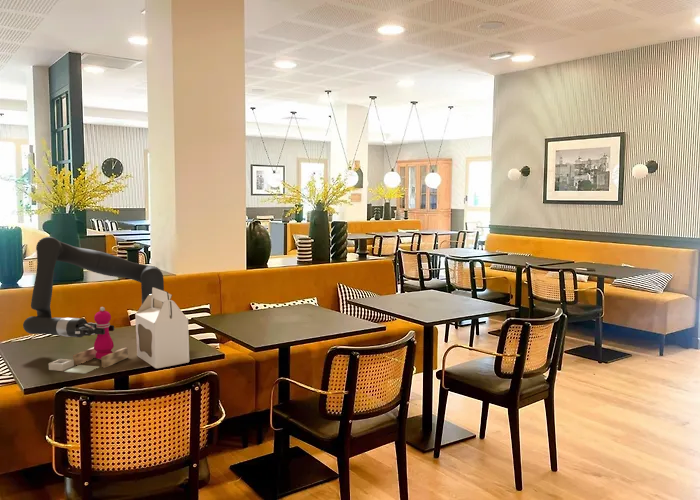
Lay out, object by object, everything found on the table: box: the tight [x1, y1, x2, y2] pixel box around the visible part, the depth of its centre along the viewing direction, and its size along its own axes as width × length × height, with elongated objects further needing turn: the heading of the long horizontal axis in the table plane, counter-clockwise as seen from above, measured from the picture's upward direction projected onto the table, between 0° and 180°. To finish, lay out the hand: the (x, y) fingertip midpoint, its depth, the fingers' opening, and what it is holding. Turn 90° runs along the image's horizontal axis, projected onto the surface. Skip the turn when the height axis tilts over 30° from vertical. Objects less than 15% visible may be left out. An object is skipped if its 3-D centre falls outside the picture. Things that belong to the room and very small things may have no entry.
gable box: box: [134, 287, 190, 369], centre depth 227 cm, size 22×13×28 cm, turn 38°
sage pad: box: [63, 364, 100, 375], centre depth 215 cm, size 8×9×1 cm
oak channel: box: [72, 346, 129, 368], centre depth 225 cm, size 14×14×4 cm
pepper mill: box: [93, 306, 115, 360], centre depth 227 cm, size 7×7×20 cm
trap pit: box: [48, 358, 75, 372], centre depth 217 cm, size 6×6×2 cm
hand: (108, 329), depth 226 cm, fingers closed on pepper mill, 5 cm apart
